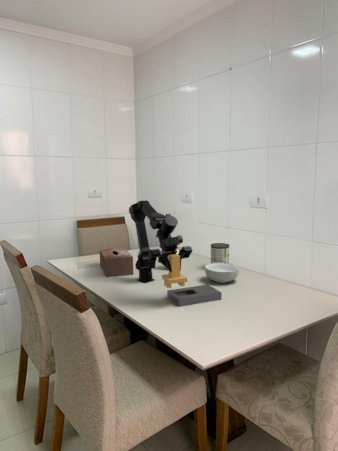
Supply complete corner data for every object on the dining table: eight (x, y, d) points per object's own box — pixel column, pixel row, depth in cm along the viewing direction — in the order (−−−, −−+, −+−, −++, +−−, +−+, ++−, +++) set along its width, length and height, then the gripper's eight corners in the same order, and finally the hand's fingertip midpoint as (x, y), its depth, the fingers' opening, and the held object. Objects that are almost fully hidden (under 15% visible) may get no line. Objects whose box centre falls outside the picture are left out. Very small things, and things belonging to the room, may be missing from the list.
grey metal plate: (167, 297, 154) (167, 290, 154) (207, 290, 162) (207, 284, 161) (179, 306, 143) (178, 299, 143) (221, 299, 151) (221, 292, 151)
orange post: (162, 284, 150) (161, 254, 148) (179, 281, 153) (179, 252, 151) (169, 289, 143) (168, 258, 141) (187, 287, 146) (187, 256, 144)
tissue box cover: (133, 275, 188) (132, 256, 187) (106, 277, 184) (105, 259, 183) (124, 263, 213) (124, 247, 211) (100, 265, 208) (99, 249, 207)
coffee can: (210, 266, 203) (210, 242, 201) (228, 267, 202) (228, 243, 200) (210, 271, 193) (210, 246, 191) (229, 272, 192) (230, 246, 190)
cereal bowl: (238, 286, 167) (238, 272, 166) (203, 284, 171) (203, 270, 170) (238, 276, 184) (238, 263, 183) (206, 275, 187) (206, 262, 186)
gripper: (149, 230, 145) (159, 263, 136) (190, 227, 151) (202, 258, 143) (143, 245, 153) (152, 277, 144) (183, 242, 160) (193, 272, 151)
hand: (175, 271), depth 146 cm, fingers closed on orange post, 4 cm apart
